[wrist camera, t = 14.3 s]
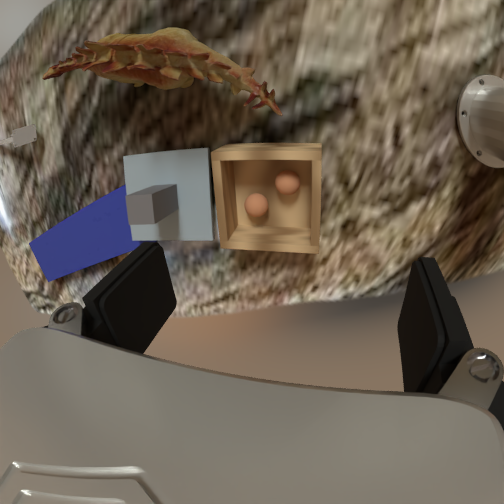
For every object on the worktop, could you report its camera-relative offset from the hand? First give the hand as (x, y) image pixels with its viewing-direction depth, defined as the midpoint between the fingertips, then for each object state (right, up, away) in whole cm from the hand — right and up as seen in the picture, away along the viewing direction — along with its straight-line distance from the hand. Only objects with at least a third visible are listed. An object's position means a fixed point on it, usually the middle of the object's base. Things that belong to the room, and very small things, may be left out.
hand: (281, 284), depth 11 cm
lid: (-13, +9, +29) cm, 33 cm away
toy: (-11, +26, +22) cm, 36 cm away
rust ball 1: (0, +7, +27) cm, 28 cm away
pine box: (+2, +9, +28) cm, 29 cm away
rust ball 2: (+3, +9, +25) cm, 27 cm away
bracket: (-50, +25, +33) cm, 65 cm away
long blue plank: (-32, +4, +40) cm, 51 cm away
